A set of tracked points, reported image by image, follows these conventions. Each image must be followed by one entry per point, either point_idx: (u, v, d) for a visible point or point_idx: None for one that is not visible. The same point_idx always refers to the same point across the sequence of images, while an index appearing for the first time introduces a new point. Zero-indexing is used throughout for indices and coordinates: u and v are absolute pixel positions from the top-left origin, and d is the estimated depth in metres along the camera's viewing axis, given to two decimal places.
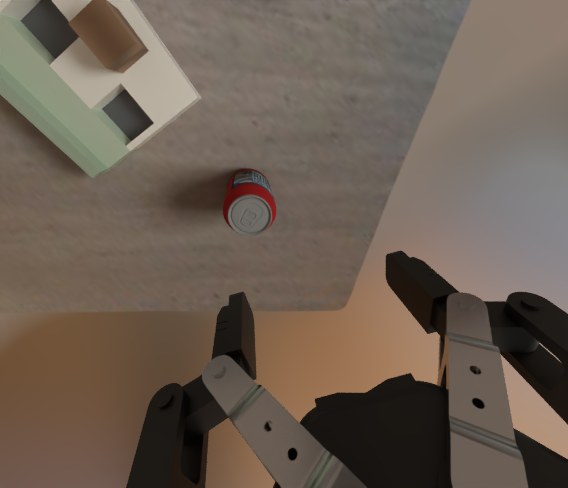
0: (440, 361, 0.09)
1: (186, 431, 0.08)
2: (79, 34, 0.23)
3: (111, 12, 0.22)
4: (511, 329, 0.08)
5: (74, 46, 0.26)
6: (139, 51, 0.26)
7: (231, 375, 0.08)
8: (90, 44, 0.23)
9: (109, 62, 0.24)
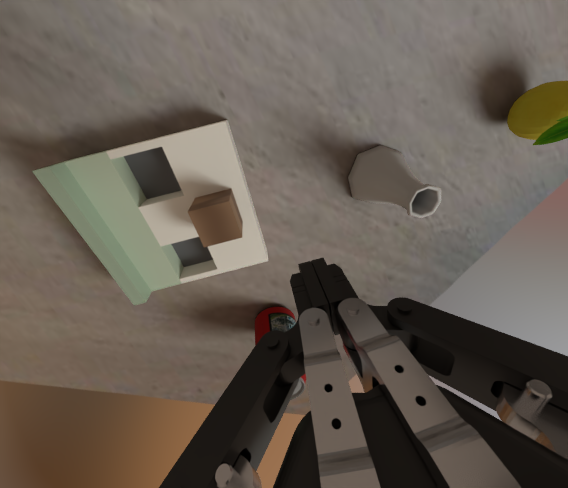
0: (358, 370, 0.10)
1: (279, 376, 0.09)
2: (193, 221, 0.23)
3: (233, 214, 0.23)
4: (387, 331, 0.09)
5: (172, 201, 0.25)
6: None
7: (328, 322, 0.09)
8: (199, 229, 0.23)
9: (209, 244, 0.24)
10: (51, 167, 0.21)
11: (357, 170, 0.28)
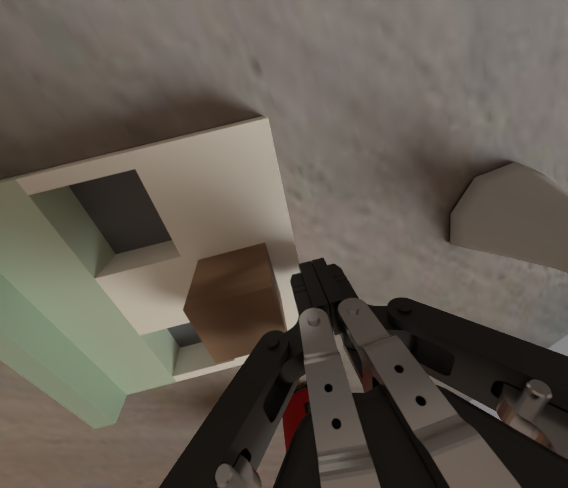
0: (357, 370, 0.10)
1: (279, 376, 0.09)
2: (195, 324, 0.11)
3: (277, 309, 0.11)
4: (387, 331, 0.09)
5: (160, 266, 0.14)
6: None
7: (328, 322, 0.09)
8: (208, 337, 0.11)
9: (227, 358, 0.12)
10: None
11: (475, 204, 0.17)
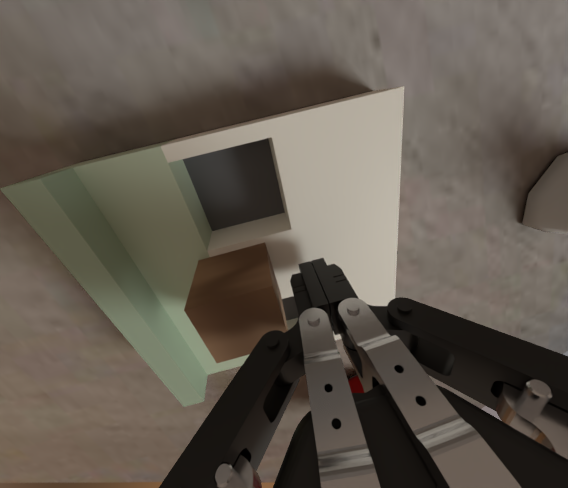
0: (357, 370, 0.10)
1: (279, 376, 0.09)
2: (196, 324, 0.11)
3: (277, 308, 0.11)
4: (387, 331, 0.09)
5: (270, 239, 0.14)
6: None
7: (328, 322, 0.09)
8: (209, 337, 0.11)
9: (228, 357, 0.12)
10: (45, 180, 0.09)
11: (559, 182, 0.17)
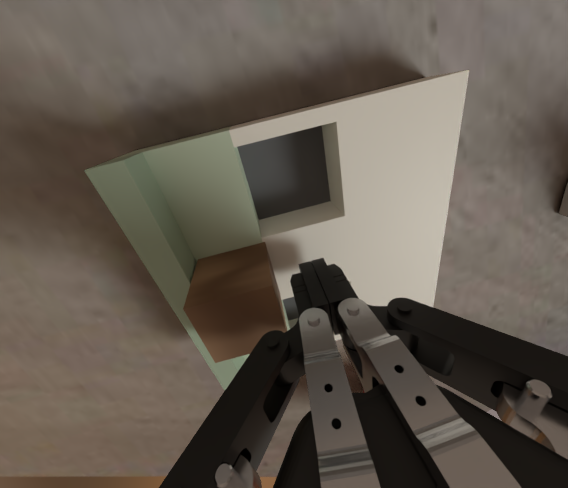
0: (357, 370, 0.10)
1: (279, 376, 0.09)
2: (195, 323, 0.11)
3: (277, 308, 0.11)
4: (387, 331, 0.09)
5: (323, 226, 0.14)
6: None
7: (328, 322, 0.09)
8: (208, 336, 0.11)
9: (227, 357, 0.12)
10: (127, 162, 0.09)
11: None
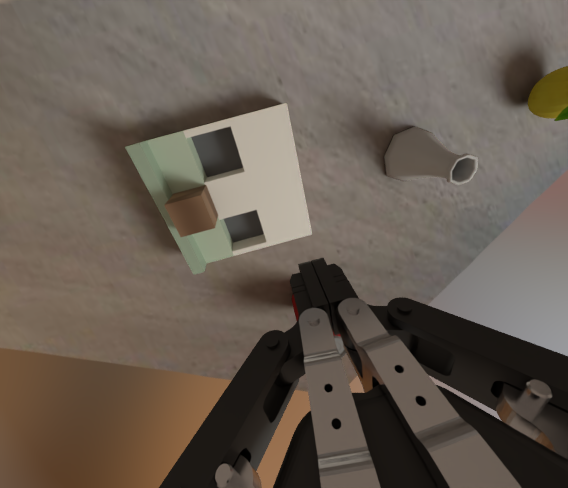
0: (358, 370, 0.10)
1: (279, 376, 0.09)
2: (170, 213, 0.26)
3: (205, 207, 0.26)
4: (387, 331, 0.09)
5: (234, 176, 0.29)
6: None
7: (328, 322, 0.09)
8: (175, 221, 0.26)
9: (185, 234, 0.27)
10: (140, 143, 0.24)
11: (394, 149, 0.32)
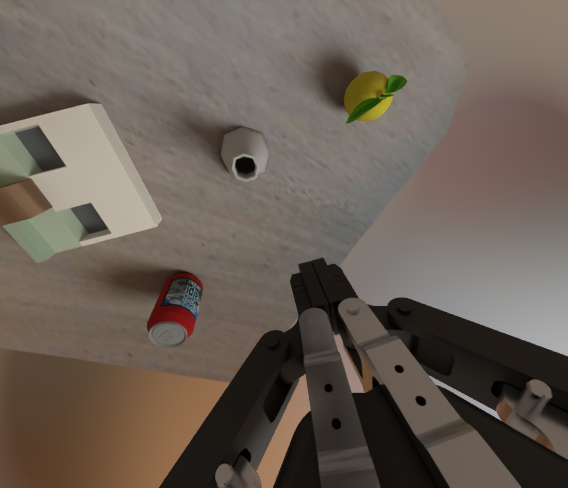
0: (357, 370, 0.10)
1: (279, 376, 0.09)
2: None
3: (13, 199, 0.28)
4: (387, 331, 0.09)
5: (57, 171, 0.31)
6: (39, 212, 0.31)
7: (328, 322, 0.09)
8: None
9: (2, 224, 0.29)
10: None
11: (223, 147, 0.34)
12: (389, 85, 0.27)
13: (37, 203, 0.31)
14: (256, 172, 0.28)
